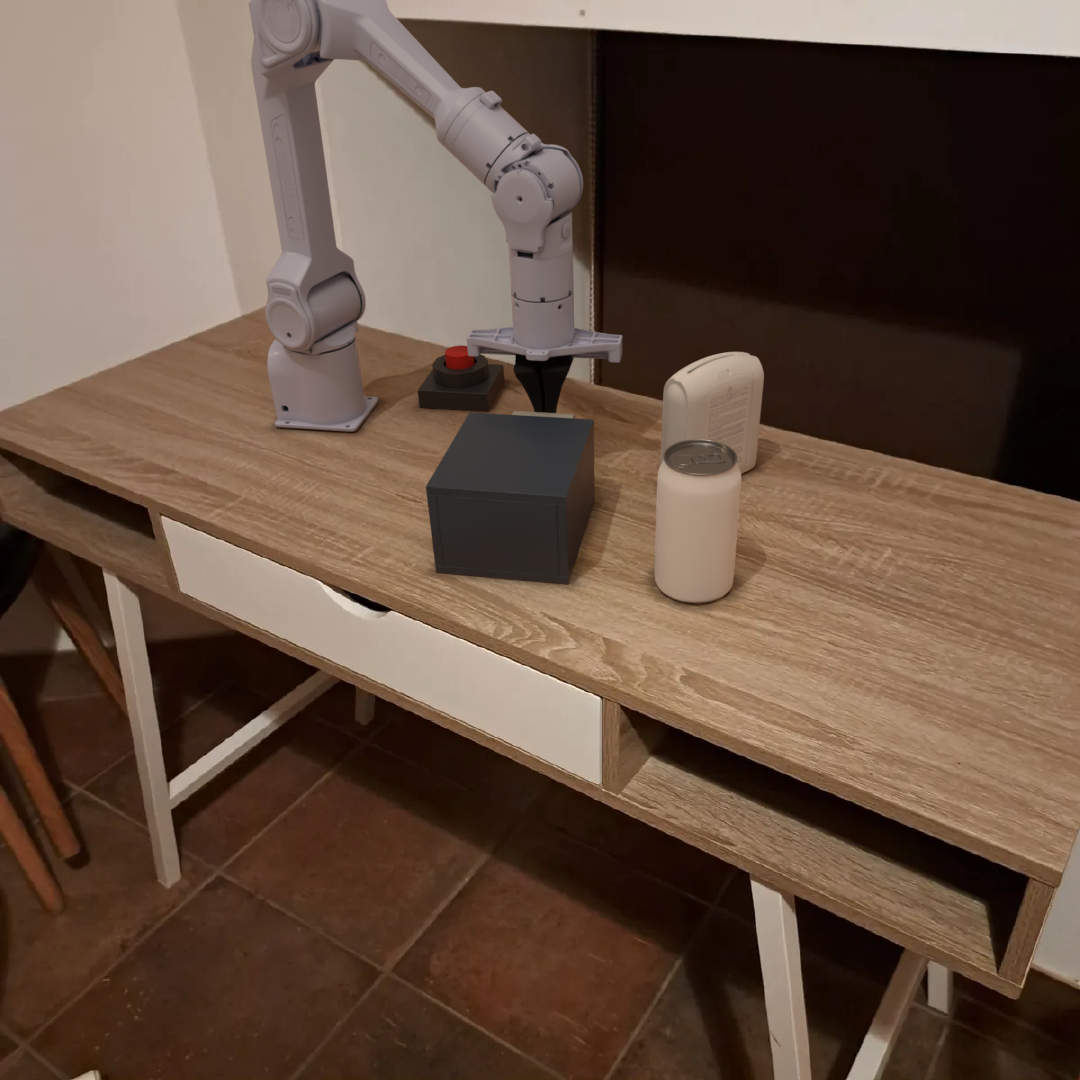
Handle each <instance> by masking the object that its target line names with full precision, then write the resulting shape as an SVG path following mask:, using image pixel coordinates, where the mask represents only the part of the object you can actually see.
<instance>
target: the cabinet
mask: <svg viewBox="0 0 1080 1080" xmlns="http://www.w3.org/2000/svg"><path fill="white" fill-rule="evenodd" d="M595 481H596V480H595V419H589V418H576V417H575V418H559V417H541V416H524V415H512V414H504V413H503V414H502V413H490V412H489V413H487V412H473V411H469V412H468V414H467V416H466V417H465V419H464V421H463V422H462V424H461V426H460V428H459V429H458V430H457V432H456V435H455V436H454V438H453V440H452V441H451V443H450V445H449V446H448V448H447V450H446V451H445V453H444V454H443V456H442V458H441V460H440V462H439V463H438V465H437V466H436V468H435V470H434V472H433V473H432V475H431V477H430V478H429V480H428V482H427V484H426V485H425V491H426V499H427V501H426V502H427V508H428V517H429V525H430V533H431V543H432V550H433V558H434V559H433V560H434V565H435V573H437V574H448V575H459V576H471V577H480V578H491V579H492V578H493V579H505V580H514V581H526V582H537V583H547V584H558V585H559V584H560V585H569V584H570V581H571V578H572V575H573V572H574V568H575V566H576V563H577V559H578V557H579V556H578V555H579V552H580V549H581V547H582V543H583V539H584V537H585V534H586V530H587V527H588V523H589V520H590V518H591V514H592V510H593V507H594V505H595V501H596V498H595V497H596V495H595V491H596V490H595V489H596V488H595V485H596V483H595Z"/></svg>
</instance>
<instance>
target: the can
mask: <svg viewBox="0 0 1080 1080" xmlns="http://www.w3.org/2000/svg"><path fill="white" fill-rule="evenodd" d="M737 459H738V457H737V454H736V452H735V451H734V450H733V449H732V448H731V447H729V446H727V445H725V444H723V443H720V442H717V441H713V440H706V439H691V440H684V441H680V442H677V443H675V444H673V445H671V446H669V447H668V448H667V449H666V450H665V452H664V461H663V462H662V464H661V463H660V465H659V467H658V471H657V477H656V479H657V480H656V502H655V503H656V506H655V535H654V536H655V540H654V581H655V584H656V586H657V587H658V589H659V590H660V591H661V592H662V593H663V594H664V595H665V596H667V597H668V598H669V599H671V600H674V601H675V602H680V603H684V604H687V605H688V604H690V605H702V604H703V605H704V604H709V603H713V602H715V601H717V600H720V599H721V598H723V597H725V595H727V594H728V592H730V591H731V589H732V587H733V583H734V577H735V565H736V555H737V543H738V531H739V518H740V505H741V504H740V503H741V493H742V492H741V491H742V488H741V487H742V474H741V472H740V469H739V467H738V464H737Z"/></svg>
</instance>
